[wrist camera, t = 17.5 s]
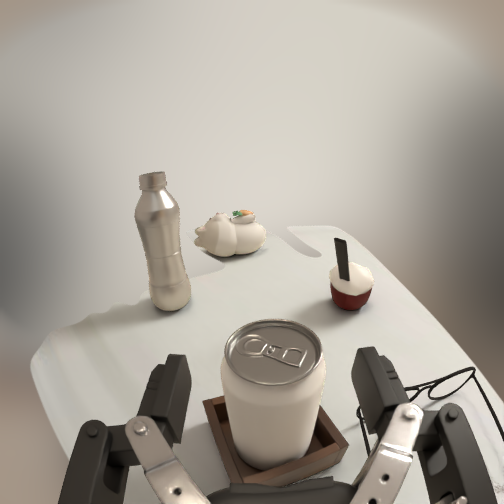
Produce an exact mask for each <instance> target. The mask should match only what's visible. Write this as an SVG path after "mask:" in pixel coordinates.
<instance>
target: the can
mask: <svg viewBox="0 0 504 504" xmlns="http://www.w3.org/2000/svg"><path fill="white" fill-rule="evenodd" d="M322 353H323V350H322V344H321V342H320V340H319V338H318V337H317V335H316V334H315V333H314V332H313V331H312V330H310V329H309V328H307V327H306V326H304V325H302V324H299V323H297V322H294V321H289V320H283V319H265V320H259V321H255V322H252V323H249V324H247V325H245V326H243V327H241V328H239V329H238V330H236V331H235V332H234V333H233V334H232V335H231V336H230V338H229V339H228V341H227V343H226V345H225V351H224V354H225V356H224V358H223V361H222V364H221V380H222V386H223V392H224V397H225V402H226V407H227V412H228V417H229V422H230V427H231V431H232V436H233V440H234V444H235V448H236V450H237V453H238V454H239V456H240V457H241V459H242V460H243V461H244V462H246V463H247V464H248V465H250V466H252V467H254V468H257V469H260V470H265V471H267V470H270V469H273V468H276V467H278V466H281V465H284V464H287V463H289V462H292V461H294V460H297V459H299V458H302V457H304V456H305V454H306V452H307V450H308V448H309V445H310V442H311V438H312V434H313V431H314V427H315V423H316V419H317V415H318V410H319V406H320V402H321V397H322V392H323V387H324V382H325V376H326V364H325V360H324V357H323V355H322Z"/></svg>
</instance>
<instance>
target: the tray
mask: <svg viewBox="0 0 504 504" xmlns="http://www.w3.org/2000/svg"><path fill="white" fill-rule="evenodd" d="M203 405H204V408H205V412H206V415H207V418H208V421H209V424H210V427H211V430H212V433H213V436H214V439H215V442H216V444H217V447H218V450H219V453H220V455H221V458H222V461H223V463H224V466H225V469H226V471H227V474H228V476H229V479H230V481H231V483H258V484H263V485H269V486H275V487H283V486H286V485H289V484H291V483H294V482H297V481H299V480H301V479H304V478H306V477H309V476H311V475H313V474H316V473H318V472H320V471H322V470H324V469H326V468H329V467H331V466H333V465H335V464H337V463H339V462H340V461H341V459H342V457H343V456H344V454H345V452H346V450H347V448H348V446H349V444H348V443H347V441H346V440H345V439H344V437H343V436H342V434H341V433H340V432H339V430H338V429H337V428H336V426H335V425H334V424H333V422H332V421H331V419H330V418H329V417H328V415H327V414H326V413H325V411H324V410H323V408H322V407H321V406H319V410H318V415H317V419H316V423H315V427H314V431H313V434H312V438H311V442H310V445H309V448H308V450H307V452H306V454H305V456H304V457H302V458H299V459H297V460H294V461H292V462H289V463H287V464H284V465H281V466H278V467H276V468H273V469H270V470H267V471H265V470H260V469H257V468H254V467H252V466H250V465H248V464H247V463H246V462H244V461H243V460H242V459H241V457H240V456H239V454H238V453H237V450H236V448H235V444H234V440H233V436H232V431H231V427H230V422H229V417H228V412H227V407H226V402H225V397H224V396H220V397H216V398H212V399H208V400H204V401H203Z"/></svg>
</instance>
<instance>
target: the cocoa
mask: <svg viewBox="0 0 504 504" xmlns="http://www.w3.org/2000/svg"><path fill="white" fill-rule="evenodd" d="M334 242H335V249H336V256H337V263H338V265H336V266H335V267H334V268H333V269H332V270H331V271H330V274H329V279H330V281H331V284H330V288H331V293H332V298H333V301H334V302H335V303H336V304H337V305H338V306H339V307H340V308H343V309H345V310H355V309H359V308H360V307H362V306H363V305H365V304H366V302H367V300H368V298H369V296H370V293H371V290H372V286H373V285H374V279H373V277H372V274H371V271H370V270H369V269H368V268H366V267H363V266H360V265H358V264H355V263H352V262H348V253H347V244H346V241H345V240H342V239H339V238H334Z"/></svg>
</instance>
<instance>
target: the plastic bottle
mask: <svg viewBox="0 0 504 504" xmlns="http://www.w3.org/2000/svg"><path fill="white" fill-rule="evenodd" d="M139 182H140V186H139V187H140V190H142V195H141V197H140V199H139V201H138V203H137V206H136V209H135V221H136V224H137V228H138V231H139V234H140V237H141V240H142V243H143V247H144V251H145V256H146V260H147V266H148V274H149V290H150V296H151V298H152V301H153V303H154V304H155V305H156V306H157V307H158V308H159V309H161V310H164V311H174V310H178V309H180V308H182V307H184V306H185V305H186V304H187V303H188V301H189V299H190V297H191V285H190V282H189V278H188V276H187V274H186V271H185V267H184V263H183V259H182V255H181V247H180V235H179V222H180V221H179V220H180V218H179V215H180V214H179V213H180V212H179V207H178V204H177V202H176V201H175V200H174V198H173V197H172V196H171V195H170V194H169V193H168V191H167V190H166V188H165V186H166V185H167V182H166V177H165V172H153V173H147V174H143V175H140V176H139Z"/></svg>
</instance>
